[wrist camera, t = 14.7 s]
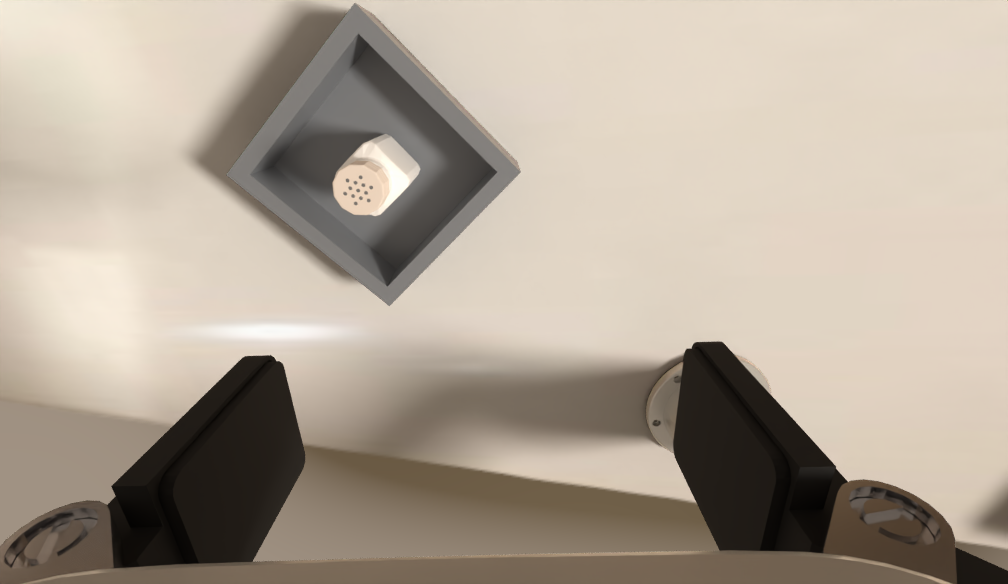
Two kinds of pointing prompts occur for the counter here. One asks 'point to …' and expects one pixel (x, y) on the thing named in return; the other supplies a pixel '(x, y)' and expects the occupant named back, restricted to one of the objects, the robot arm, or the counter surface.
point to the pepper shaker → (374, 176)
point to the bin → (360, 118)
